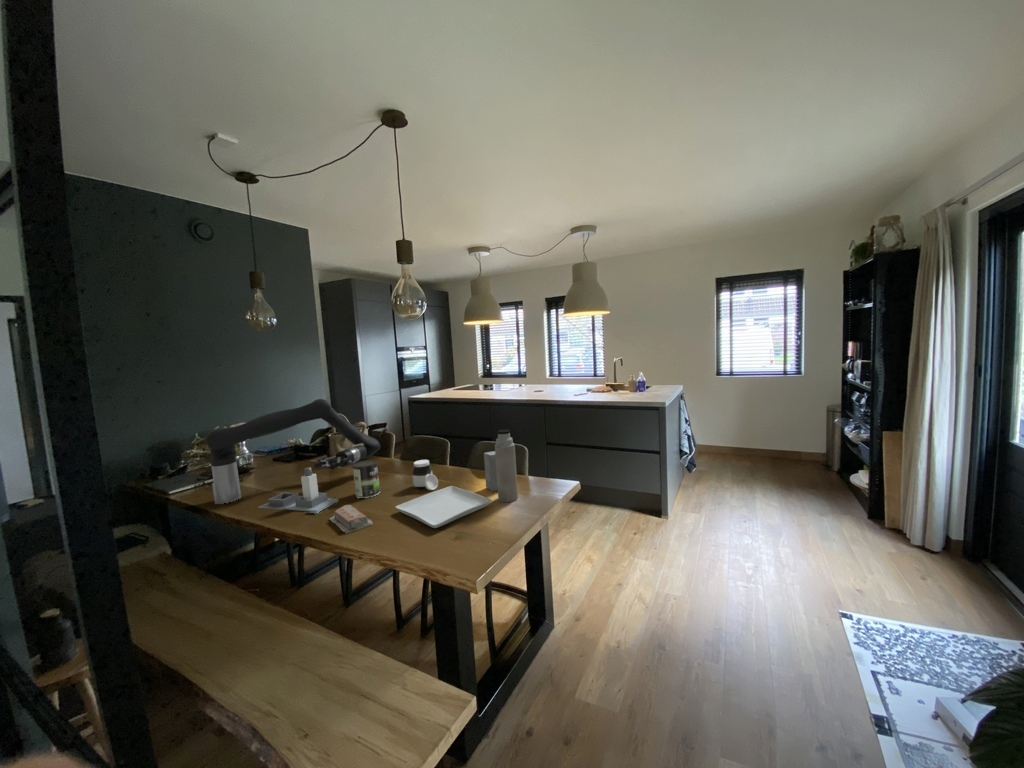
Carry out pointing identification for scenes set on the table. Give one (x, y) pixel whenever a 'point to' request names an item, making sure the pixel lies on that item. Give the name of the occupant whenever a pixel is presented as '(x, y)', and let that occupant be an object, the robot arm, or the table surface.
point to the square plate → (443, 506)
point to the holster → (281, 501)
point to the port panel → (312, 503)
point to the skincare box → (490, 471)
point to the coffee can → (366, 479)
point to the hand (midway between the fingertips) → (322, 466)
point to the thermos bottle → (506, 467)
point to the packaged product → (350, 519)
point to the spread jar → (424, 476)
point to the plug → (309, 484)
